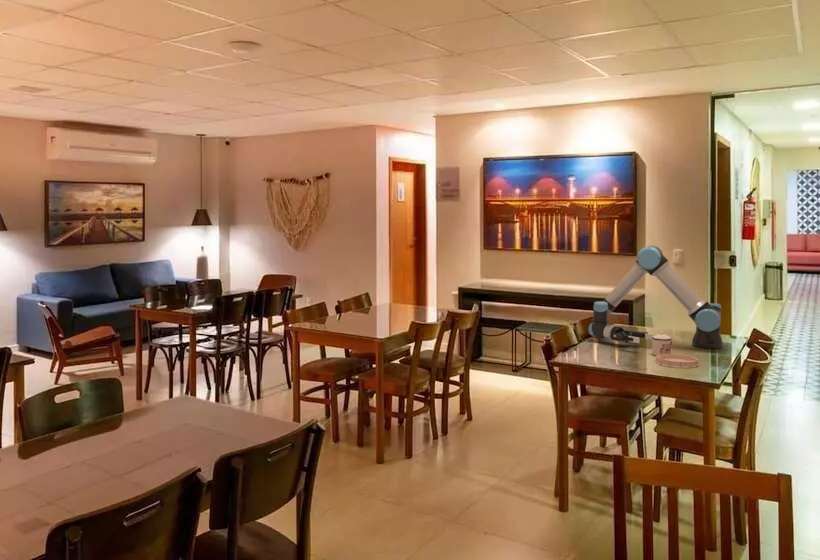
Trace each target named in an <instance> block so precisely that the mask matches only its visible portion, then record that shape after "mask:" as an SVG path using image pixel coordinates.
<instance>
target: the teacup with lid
mask: <svg viewBox="0 0 820 560" xmlns="http://www.w3.org/2000/svg"><path fill="white" fill-rule="evenodd" d="M654 335H655V336H653V337H652V340H651V341H652V342H651V343H652V344H651V355H652V356H653V357H654V356H655V357H656V356H657V355H660V354H671V350H672V348H673V345H674V342H673V340H672V337H671V336H670V335H667V334H666V333H665V332H664V331H659V333H657V334H654Z"/></svg>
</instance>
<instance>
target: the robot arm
mask: <svg viewBox="0 0 820 560" xmlns="http://www.w3.org/2000/svg"><path fill="white" fill-rule="evenodd" d="M634 263H635V264H634V265H633V266H632V267H631V269H630V270H629V271H628V272H627V273H626V274H625V275H624V276H623V278H622V279H621V280H620V281H619V282H618V283H617V284H616V286H614V288H613V289H612V290H611V291H610V292H609V294H608V295H607V296H606V297H605V298H604V299H603V300H602V301H594V302H593V317H592V319H593V322H590V324H589V326H588V334H589V335H590V336H592V337H596V338H601V339H606V340H607V339H608V340H609V341H611V340H613V341H615V342H616V341H617V342H620V341H621V342H624V343H626V344H627V343H628V342H630V343H636V344H640V339H644V340H645V339H647V340H651V341H652V337H653V336H655V335H656V334H652V333H649V332H648V331H645V332H644V331H643V332H642V331H634V330H633V331H632V330H629V331H628V330H624V328H623V327H622V326H616V325H611V324H608V320H609V318H608V317H609V316H610V315H611V314H612V312H613V311H614V310H615V309H616V307H617V306H619V304H620V303H621V302H622V301H623V300H624V299H625V298H626V296H628V295H629V293H630V292H631V291H632V290H633V289H634V288H635V286H636V285H637V284H638V283H639V282H640V281H641V280H642V279H643V278H644V276H645V275H646V274H649V275H650V276H651V277H656V278H657V279H658V280H659V282H660V283H661V284H662V285H663V286H664V287H665V288H666V289H667V290H668V291H669V292H670V293H671V294H672V295H673V296H674V297H675V299H676V300H677V301H678V302H679V303H680V304H681V305H682V306H683V307H684V308H685V309H686V310H687V311H688V313H687V315H688V317H689V318H690V319H691V320H692V321H693V322H694V324H695V333H694V336H693V338H692V340H691V346H693V347H695V348H701V349H702V348H703V349H712V350H715V349H722V348H723V347H724V341H723V339H722V335H721V322H722V321H721V320H722V318H721V317H722V305H721V304H720V303H711V302H708V301H707V300H703V299H701V298H700V296H698V295H697V293H696V292H694V290H693V289H692V288H691V287H690V286H689V285H688V284H687V283H686V282H685V281H684V280H683V279H682V278H681V276H680V275H678V273H677V272H676V271H675V270H674V269H673V268H672V267H671V266H670V261H669V259H668V258H666V256H665V255H663V251H662V250H661V249H660V248H659V247H658V246H655V245H646V246H644V247H642V248H641V249H640V250H639V251H638V253H637V256H636V260H635V261H634Z"/></svg>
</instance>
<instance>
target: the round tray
mask: <svg viewBox="0 0 820 560" xmlns="http://www.w3.org/2000/svg"><path fill="white" fill-rule="evenodd" d="M655 361H656V364H658V365H659V366H663V367H668V368H676V369H691V368H692V369H693V368H696V367H698V364H699V358H697V357H695V356H692V355H686V354H682V353H681V354H679V353H670V354H660V355H657V356H655Z"/></svg>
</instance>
